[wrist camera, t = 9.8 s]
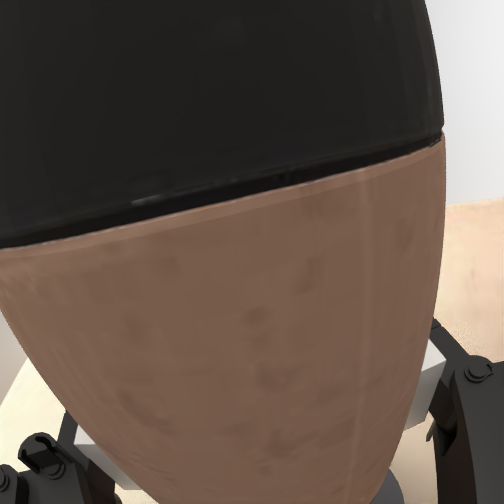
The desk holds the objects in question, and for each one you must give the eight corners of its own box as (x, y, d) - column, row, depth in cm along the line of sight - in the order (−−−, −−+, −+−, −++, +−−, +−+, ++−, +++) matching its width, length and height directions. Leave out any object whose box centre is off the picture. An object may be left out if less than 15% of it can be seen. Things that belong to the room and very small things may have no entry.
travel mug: (217, 465, 16) (67, 86, 7) (344, 443, 16) (326, 29, 7) (223, 577, 9) (-164, 116, 1) (376, 551, 9) (543, -67, 1)
